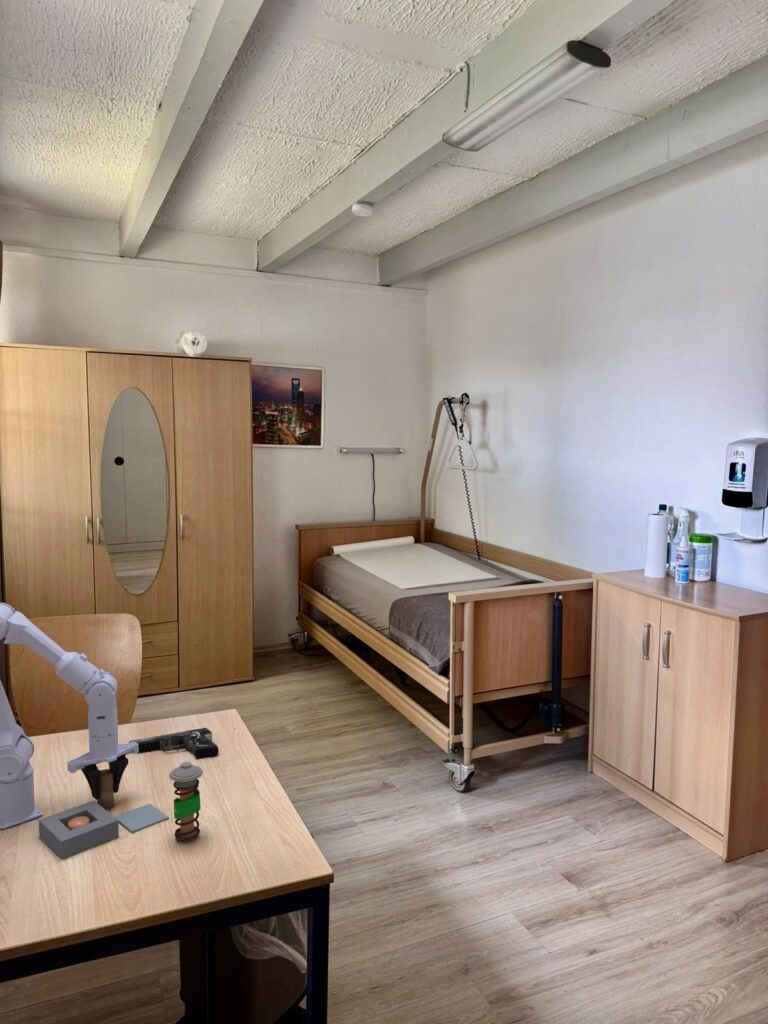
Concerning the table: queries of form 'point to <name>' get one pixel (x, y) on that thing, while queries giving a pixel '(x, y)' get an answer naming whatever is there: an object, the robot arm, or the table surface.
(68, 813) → the frame
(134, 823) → the mat
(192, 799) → the shock absorber
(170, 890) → the table surface
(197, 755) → the handgun
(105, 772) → the dowel
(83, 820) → the orange domed disc
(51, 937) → the table surface
